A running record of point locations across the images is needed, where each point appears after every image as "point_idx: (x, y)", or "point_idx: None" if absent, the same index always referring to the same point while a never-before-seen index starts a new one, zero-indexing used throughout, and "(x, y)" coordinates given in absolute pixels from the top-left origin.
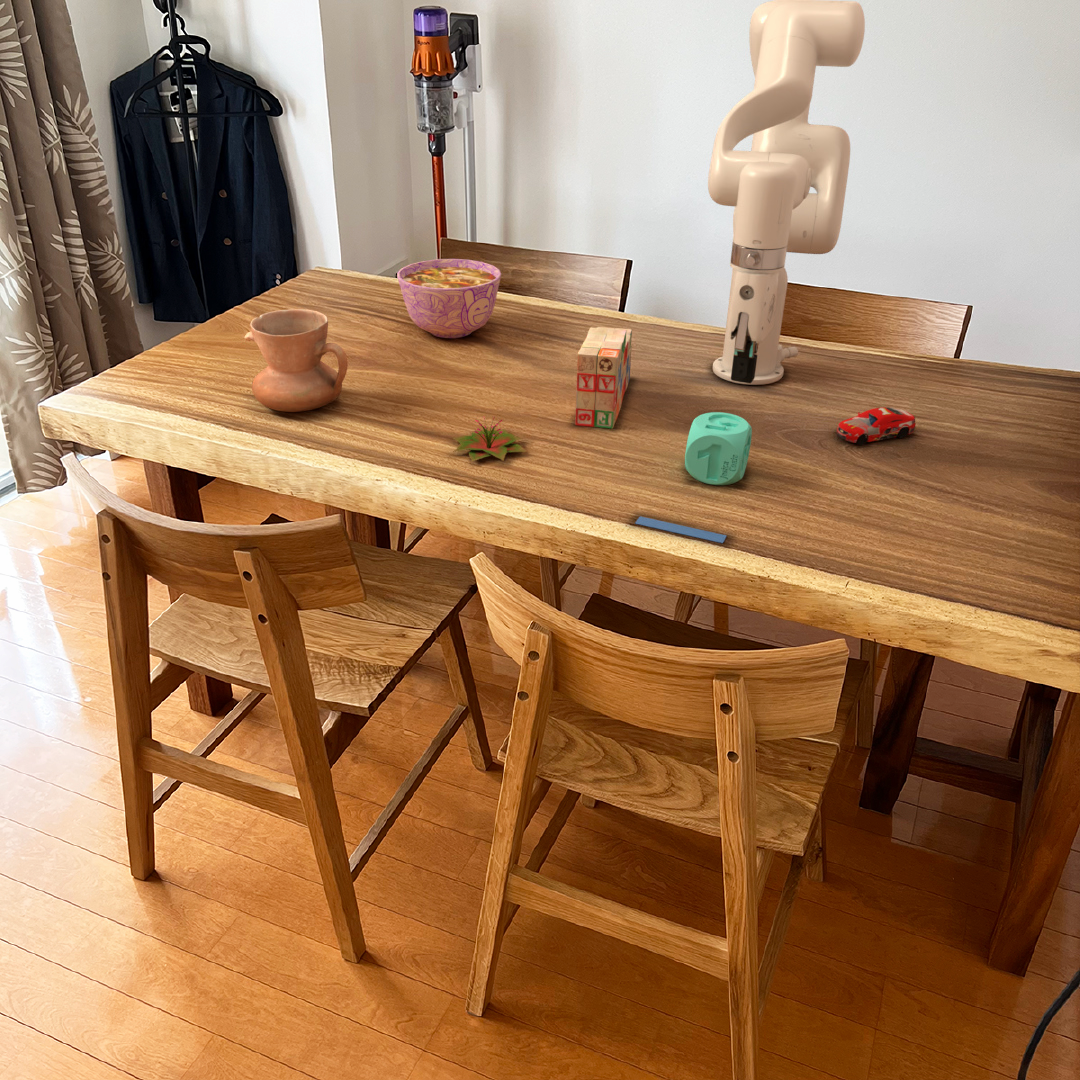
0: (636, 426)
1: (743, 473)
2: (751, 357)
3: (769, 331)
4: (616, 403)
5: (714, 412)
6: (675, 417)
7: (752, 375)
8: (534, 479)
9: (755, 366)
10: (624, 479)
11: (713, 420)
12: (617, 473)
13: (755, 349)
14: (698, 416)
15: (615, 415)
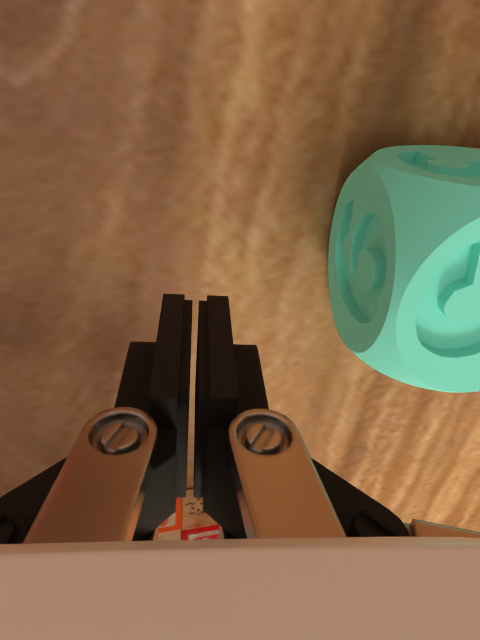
0: (188, 451)
1: (429, 146)
2: (291, 426)
3: (58, 566)
4: (181, 530)
5: (400, 351)
6: (87, 397)
7: (228, 318)
8: (477, 512)
9: (174, 340)
10: (465, 402)
11: (441, 336)
12: (438, 419)
13: (154, 447)
14: (447, 388)
15: (192, 504)
